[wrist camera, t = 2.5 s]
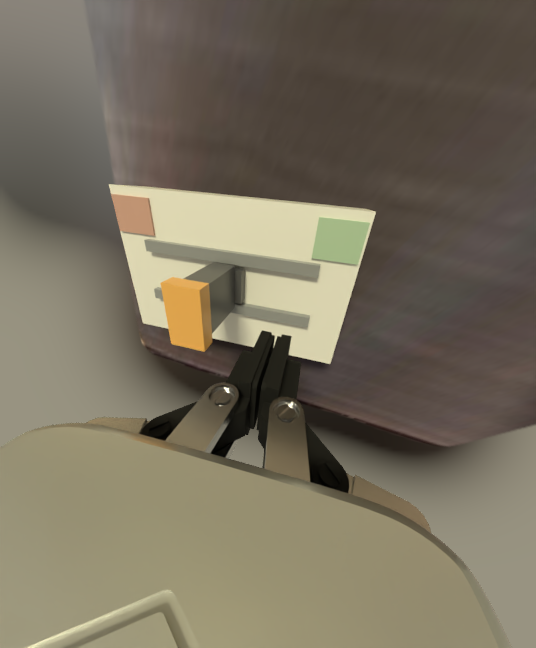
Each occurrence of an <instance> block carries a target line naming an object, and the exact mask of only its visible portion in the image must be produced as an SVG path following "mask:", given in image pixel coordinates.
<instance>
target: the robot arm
mask: <svg viewBox="0 0 536 648" xmlns="http://www.w3.org/2000/svg"><path fill="white" fill-rule="evenodd" d="M291 337H292V336H289V335H284V334H282V335H281V337H280V336H277V339H276V342H275V345H274V340H275V335H272V332H268V331H263V330H262V331H261V333H260V335H259V337H258V339H257V342H256V344H255V346H254V348H253V350H252V352H250V351H245V350H244V351H242V353H241V355H240V357H239V359H238V361H237V362H236V364H235V366H234V368H233V370H232V372H231V374H230V376H229V378H228V379H227V381H226V383H218V384H215V385H213V386H211V387H210V388H209V389H208V390H207V391H206V392H205V393H204V395H203V396H202V397H201V398H200V399H199V401H197V402H195V403H192V404H190V405H187V406H184V407H182V408H179V409H177V410H174V411H172V412H169V413H167V414H164V415H162V416H159V417H157V418H155V419H153V420H151V421H147V419H146V418H113V417H112V418H111V417H109V418H108V417H101V418H95V419H93V420H90V421H88V422H87V423H65V424H56V425H50V426H45V427H41V428H37V429H34V430H31V431H28V432H25V433H24V434H22V435H20V436H18V437H16V438H14V439H12V440H11V441H9V442H7V443H6V444H5V445H3V446H1V447H0V648H512V646H511V644H510V642H509V640H508V638H507V636H506V633H505V632H504V629H503V627H502V625H501V623H500V621H499V619H498V617H497V615H496V613H495V611H494V609H493V607H492V605H491V603H490V601H489V600H488V598H487V596H486V594H485V593H484V591H483V589H482V587H481V586H480V584H479V582H478V581H477V579H476V578H475V577H474V575H473V574H472V572H471V571H470V569H469V568H468V567H467V566H466V565H465V563H464V562H463V561H462V560H461V559H460V558H459V557H458V556H457V555H456V554H455V553H454V552H453V551H452V550H451V549H450V548H449V547H448V546H446V545H445V544H444V543H443V542H442V541H441V540H439V539H438V538H437V537H435V536H434V535H433V534H432V533H431V530H430V527H429V524H428V522H427V520H426V519H425V517H424V515H423V514H422V513H421V512H420V511H419V510H418V509H417V508H416V507H415V506H413V505H412V504H411V503H409V502H408V501H406V500H404V499H402V498H400V497H398V496H396V495H394V494H392V493H390V492H388V491H386V490H384V489H382V488H380V487H378V486H376V485H374V484H372V483H371V482H369V481H367V480H365V479H363V478H361V477H359V476H357V475H355V476H354V477H353V476H351V475H349V474H347V473H346V472H345V470H344V469H343V467H342V466H341V465H340V464H339V462H338V461H337V460H336V459H335V457H334V456H333V455H332V454H331V453H330V451H329V450H328V449H327V448H326V447H325V446H324V444H323V443H322V442H321V441H320V440H319V438H318V437H317V436H316V435H315V434H314V432H313V431H312V430H311V429H310V428H309V426H308V425H307V424H306V423H305V417H304V410H303V407H302V406H301V404H300V403H299V402H298V401H297V400H296V397H297V390H298V382H299V375H300V367H301V362H298V361H293V360H289V359H288V355H289V349H290V343H291ZM257 417H258V424H257V430H259V435H258V440H259V442H260V443H261V445H262V446H263V448H264V454H263V466H262V468H259V467H256V466H252V465H249V464H245V463H242V462H238V461H235V460H231V459H229V457H230V455H231V454H232V452H233V450H234V448H235V446H236V443H237V441H238V439H239V438H241V437H243V436H245V434H246V435H248V433H249V430H250V428H251V429H254V427H255V424H256V420H257Z"/></svg>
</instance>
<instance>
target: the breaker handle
mask: <svg viewBox="0 0 536 648" xmlns="http://www.w3.org/2000/svg"><path fill="white" fill-rule="evenodd" d="M160 284H161V289H162V295H163V300H164V306H165V312H166V317H167V323H168V328H169V334H170V339H171V344H174V345H178V346H183V347H187V348H191V349H196V350H200V351H204V352H205V351H206V349H207V348H208V347H209V346H210V344H211V343H212V333H213V332H214V331H215V330H216V329H217V328H218V326H219V325H220V324H221V323H222V322H223V321H224V320H225V318H226V317H227V316H228V315H229V314H230V313H231V311H232V310H233V309H234V308H235V303H238V304H241V303H242V302H243V301H244V298H245V269H240V268H235V266H234V265H227V264H221V263H215V262H213V263H211V264H209V265H207V266H205V267H204V268H202V269H200V270H198V271H196V272H194V273H193V274H191V275H189V276H187V277H185V278H184V279H181V278H175V277H171V278H169V279H167V280H165V281H163V282H161V283H160Z"/></svg>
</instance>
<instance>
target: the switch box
mask: <svg viewBox="0 0 536 648" xmlns="http://www.w3.org/2000/svg"><path fill="white" fill-rule="evenodd" d="M109 187H110V191H111V195H112V199H113V203H114V207H115V211H116V215H117V220H118V224H119V228H120V232H121V236H122V240H123V244H124V248H125V252H126V256H127V260H128V264H129V268H130V272H131V276H132V280H133V284H134V288H135V292H136V296H137V300H138V304H139V309H140V313H141V317H142V321H143V323H145V324H149V325H154V326H159V327H163V328H168V323H167V317H166V312H165V306H164V300H163V295H162V289H161V284H160V283H161V282H163V281H165V280H167V279H169V278H171V277H175V278H181V279H184V278H185V277H187V276H189V275H191V274H193V273H194V272H196V271H198V270H200V269H202V268H204V267H205V266H207V265H209V264H211V263H213V262H215V263H221V264H227V265H234V266H235V268H240V269H245V298H244V301H243V302H242V303H241V304H238V303H235V308H234V309H233V310H232V311H231V313H230V314H229V315H228V316H227V317H226V318H225V320H224V321H223V322H222V323H221V324H220V325H219V326H218V328H217V329H216V330H215V331H214V332H213V333H212V338H213V339H218V340H223V341H227V342H232V343H236V344H241V345H245V346H250V347H254V346H255V344H256V342H257V339H258V337H259V335H260V333H261V331H262V330H263V331H268V332H272V335H275V340H274V345H275V342H276V339H277V336H280V337H281V335H282V334H284V335H289V336H292V337H291V343H290V349H289V355H291V356H296V357H300V358H305V359H309V360H314V361H319V362H323V363H328V364H330V363H331V360H332V356H333V353H334V350H335V346H336V343H337V340H338V336H339V333H340V330H341V326H342V323H343V320H344V316H345V313H346V310H347V306H348V303H349V300H350V297H351V293H352V290H353V287H354V283H355V280H356V277H357V273H358V270H359V267H360V263H361V260H362V257H363V253H364V250H365V247H366V243H367V240H368V237H369V233H370V230H371V227H372V223H373V220H374V217H375V213H376V212H375V211H371V210H368V209H362V208H352V207H342V206H332V205H322V204H312V203H303V202H293V201H283V200H273V199H263V198H253V197H244V196H234V195H224V194H214V193H204V192H194V191H185V190H175V189H165V188H155V187H143V186H127V185H111V184H110V185H109ZM168 329H169V328H168Z"/></svg>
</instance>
